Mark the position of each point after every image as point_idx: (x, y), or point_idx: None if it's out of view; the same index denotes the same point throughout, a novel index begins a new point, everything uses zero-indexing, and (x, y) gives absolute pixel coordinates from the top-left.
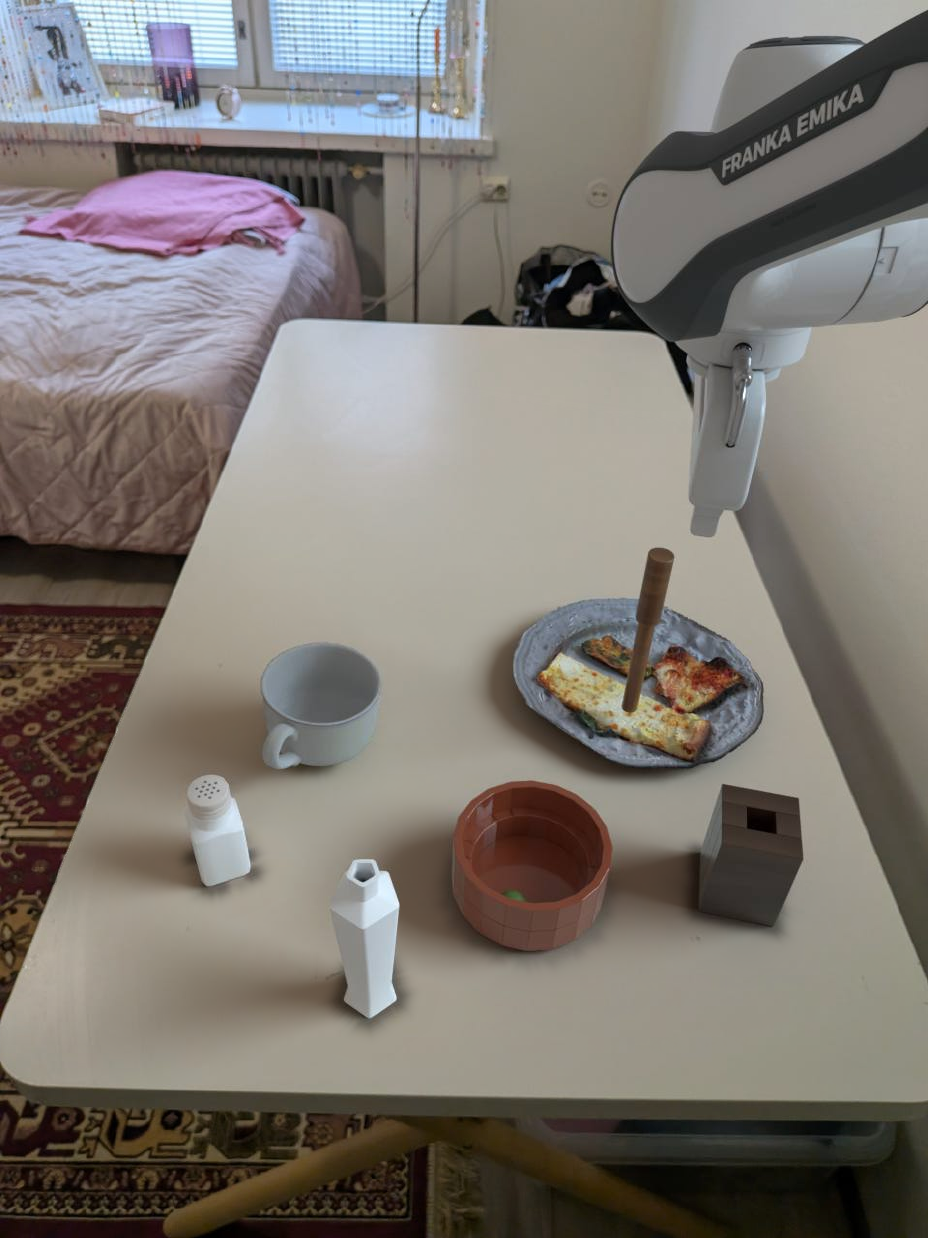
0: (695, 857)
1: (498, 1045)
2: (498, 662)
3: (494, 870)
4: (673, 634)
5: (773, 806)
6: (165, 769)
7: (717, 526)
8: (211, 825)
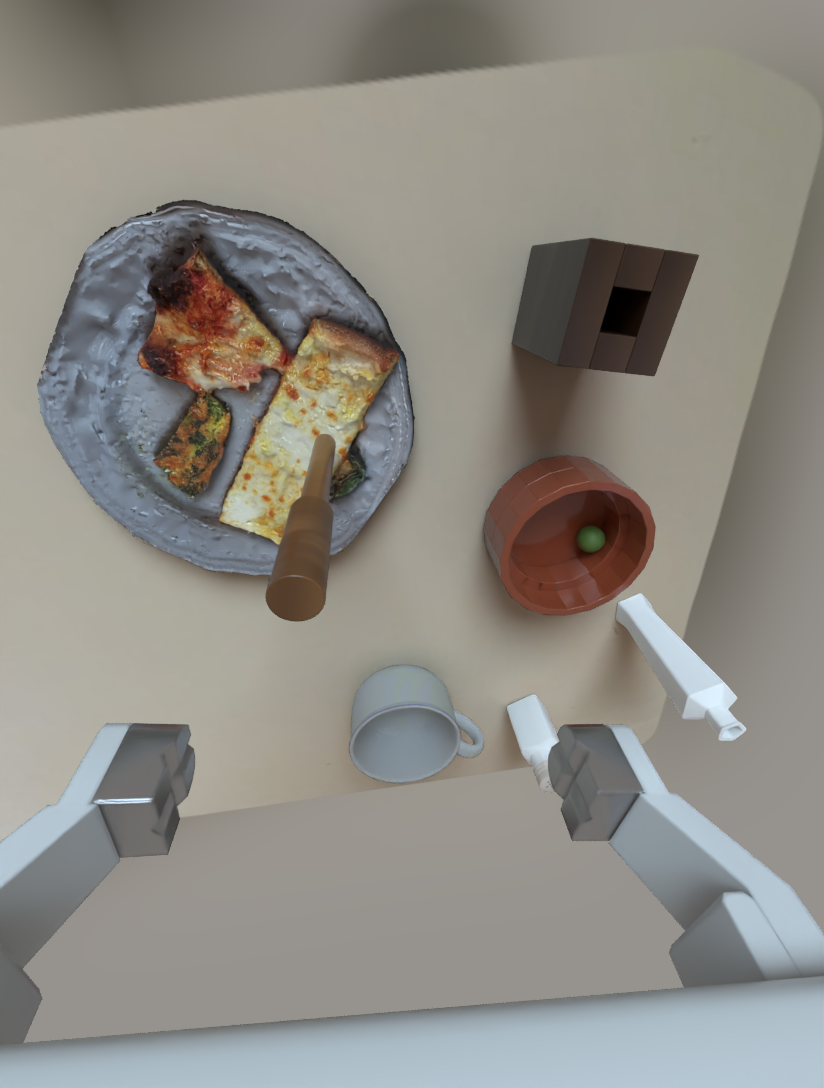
0: (518, 349)
1: (686, 525)
2: (249, 575)
3: (540, 549)
4: (97, 355)
5: (604, 288)
6: None
7: (644, 753)
8: None
